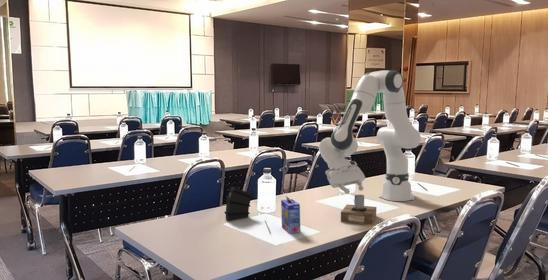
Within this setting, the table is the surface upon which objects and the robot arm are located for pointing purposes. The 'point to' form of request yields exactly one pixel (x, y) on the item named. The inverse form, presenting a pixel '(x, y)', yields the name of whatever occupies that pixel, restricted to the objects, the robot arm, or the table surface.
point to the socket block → (358, 215)
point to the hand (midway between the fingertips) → (355, 191)
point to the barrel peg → (359, 203)
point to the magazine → (237, 204)
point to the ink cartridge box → (290, 215)
